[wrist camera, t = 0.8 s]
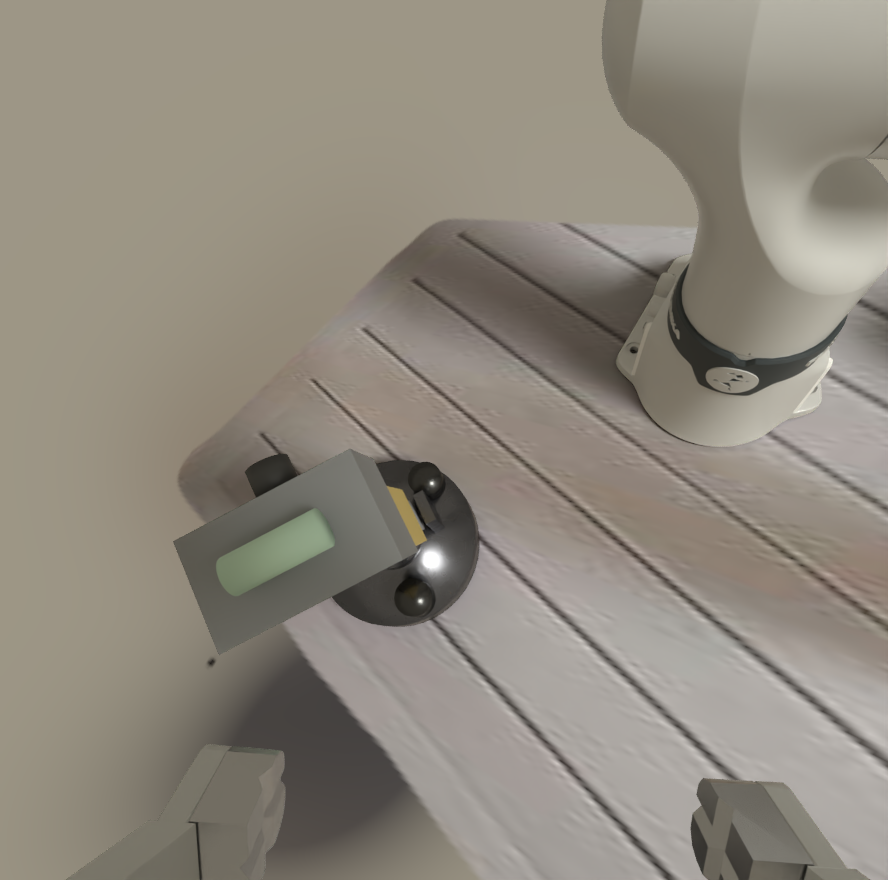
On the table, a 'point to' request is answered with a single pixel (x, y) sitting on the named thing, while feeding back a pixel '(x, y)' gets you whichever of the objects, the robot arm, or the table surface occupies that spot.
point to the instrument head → (296, 543)
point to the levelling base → (421, 553)
